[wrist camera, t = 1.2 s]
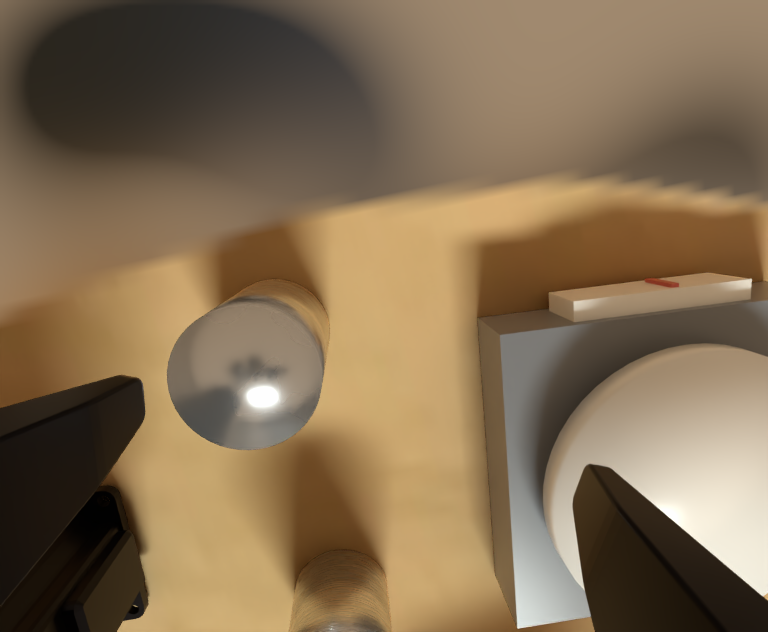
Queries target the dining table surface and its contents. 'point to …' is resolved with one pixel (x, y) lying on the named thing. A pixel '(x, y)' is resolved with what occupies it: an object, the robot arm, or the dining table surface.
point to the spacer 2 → (341, 595)
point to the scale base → (566, 391)
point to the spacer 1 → (252, 366)
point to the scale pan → (676, 451)
